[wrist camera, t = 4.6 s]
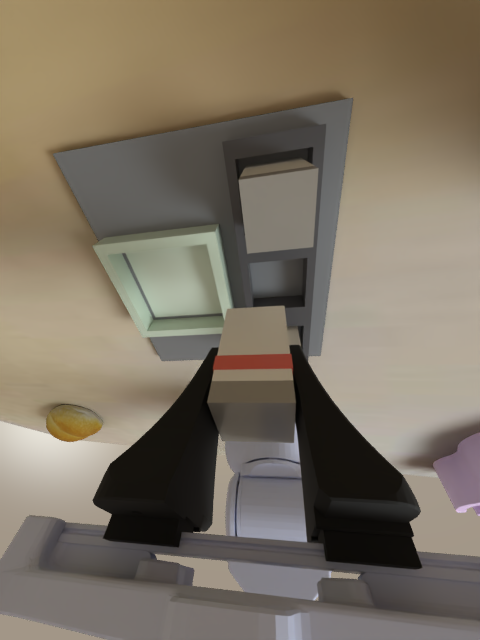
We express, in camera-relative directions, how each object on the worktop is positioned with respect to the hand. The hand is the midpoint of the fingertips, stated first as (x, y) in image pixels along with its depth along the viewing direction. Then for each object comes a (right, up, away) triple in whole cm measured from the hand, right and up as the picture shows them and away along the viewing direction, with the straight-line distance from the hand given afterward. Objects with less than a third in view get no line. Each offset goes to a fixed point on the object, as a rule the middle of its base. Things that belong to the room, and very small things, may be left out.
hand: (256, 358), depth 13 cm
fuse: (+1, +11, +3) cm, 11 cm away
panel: (-3, +6, +8) cm, 11 cm away
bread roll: (-30, -15, +29) cm, 45 cm away
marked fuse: (0, +2, +2) cm, 2 cm away
